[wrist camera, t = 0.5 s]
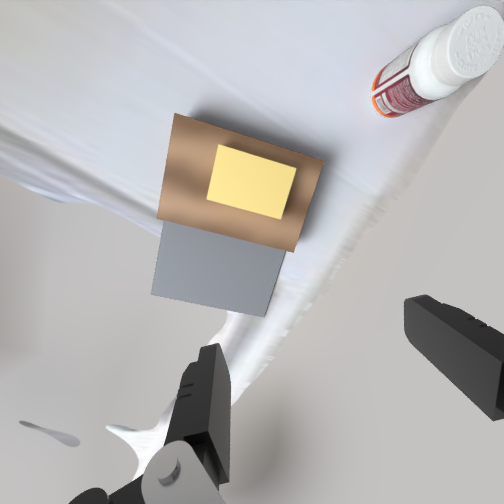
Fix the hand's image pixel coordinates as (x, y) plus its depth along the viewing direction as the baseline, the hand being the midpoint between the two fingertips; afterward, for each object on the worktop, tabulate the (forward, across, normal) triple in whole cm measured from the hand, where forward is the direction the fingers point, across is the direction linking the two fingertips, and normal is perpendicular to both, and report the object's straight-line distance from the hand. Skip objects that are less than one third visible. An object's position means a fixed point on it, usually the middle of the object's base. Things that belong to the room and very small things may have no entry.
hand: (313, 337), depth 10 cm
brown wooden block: (+25, +2, -5) cm, 26 cm away
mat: (+25, +7, +6) cm, 27 cm away
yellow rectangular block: (+21, 0, -6) cm, 22 cm away
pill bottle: (+26, -21, -13) cm, 36 cm away
